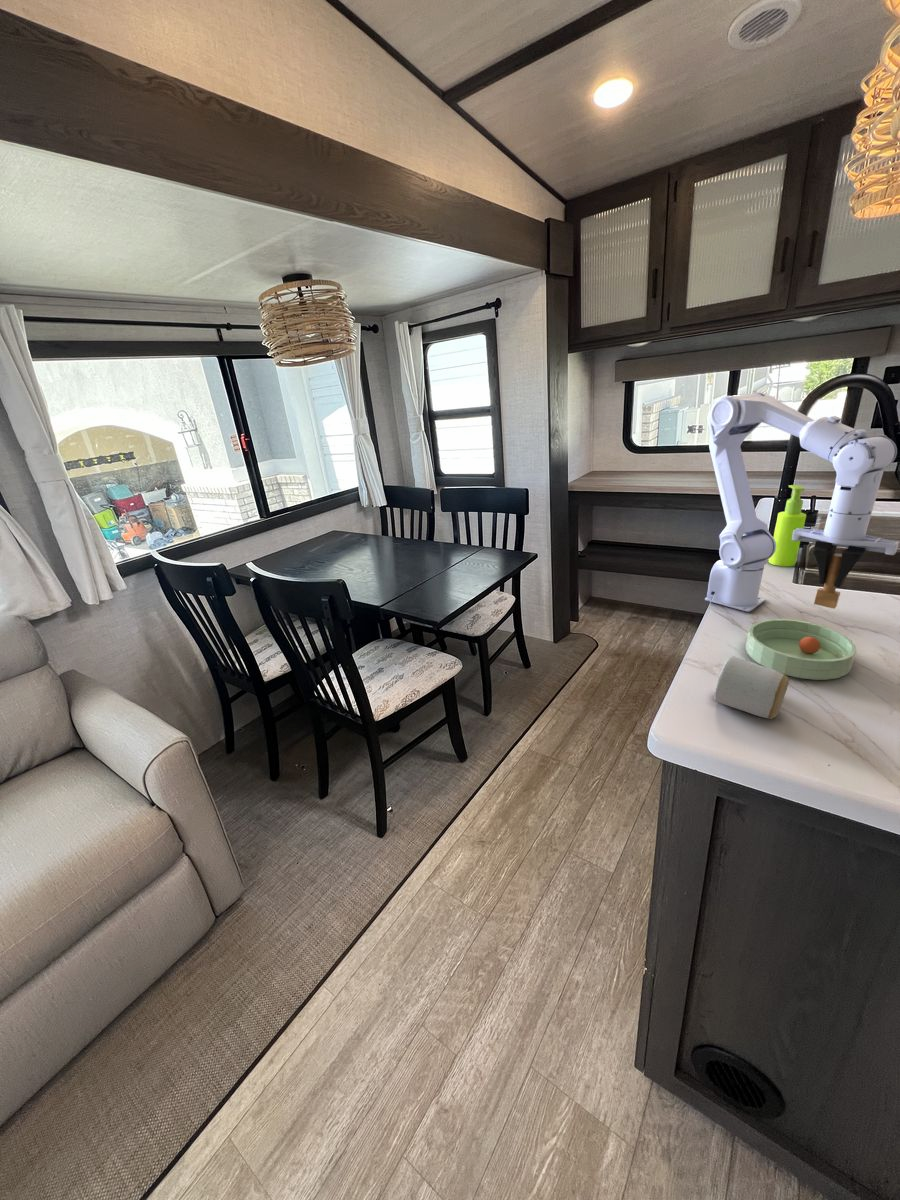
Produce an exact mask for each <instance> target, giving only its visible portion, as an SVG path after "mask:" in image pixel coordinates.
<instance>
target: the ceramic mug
mask: <svg viewBox="0 0 900 1200" xmlns="http://www.w3.org/2000/svg"><path fill="white" fill-rule="evenodd" d="M789 682H790V679H789V677H788V675H784V674H782V673H780V672H778V671H775V670H773V669H770V668H767V667H764V666H763V665H761V664H759V663H755V662H752V661H750V660H747V659H743V658H741V657H738V656H736V655H735V656H734V655H730V656H729V657H728V658H727V659H726V661H725V663H724V664H723V665H722V668H721V671H720V674H719V676H718V678H717V682H716V685H715V690H714V694H713V695H714V697H713V699H714V701H715V702H716V703H719V704H721V705H725V706H728V707H730V708H733V709H736V710H739V711H743V712H746V713H748V714H751V715H754V716H757V717H759V718H765V719H770V720H772V719H775V718H776V717H777V716H778V714H779V712H780V710H781V706H782V705H783V702H784V699H785V697H786V693H787V690H788V686H789V684H790V683H789Z"/></svg>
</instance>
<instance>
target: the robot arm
mask: <svg viewBox="0 0 900 1200" xmlns="http://www.w3.org/2000/svg"><path fill="white" fill-rule="evenodd" d="M706 419H707V423H708V428H709V441H708V448H709V452H710V457H711V461H712V466H713V470H714V474H715V475H714V476H715V478H716V484H717V487H718V492H719V496H720V501H721V504H722V508H723V514H724V517H725V521H726V526H725V527H724V528H723V529H722V531H721V532H720V534H719V535H718V537H719V542H720V543H719V551H718V553H719V557H720V559H719V560H717V561H716V562H715V563H714V564H713V566H712V568H711V571H710V574H709V580H708V585H707V593H706V597H705V598H704V601H706V602H710V603H713V604H717V605H720V606H723V607H728V608H731V609H736V610H739V611H743V612H746V613H750V612H752V611H753V610H754V609H756V608H758V606H760V605H761V604H763V603H764V602H765V598H762V597H759V593H760V589H761V584H762V579H763V574H764V569H765V565H767V561H768V560H769V558H770V557H772V556H773V555H774V553H775V551H776V542H775V539H774V538H773V537H774V535H772V534H771V533H770V531H769V527H768V524H767V523H766V522H764V521H762V520H761V519H759V518H758V516H757V513H756V509H755V504H754V500H753V495H752V492H751V487H750V483H749V478H748V474H747V470H746V465H745V460H744V456H743V453H742V448H741V445H742V444H743V442H744V441H745V439H746V438H747V437H748V436H749V435H750V434H751V433H752V432H754V431H755V430H756V428H758V426H760V425H761V424H762V423H763V424H765V425H767V426H771V427H773V428H775V429H778V430H780V431H782V432H785V433H787V434H790V435H792V436H794V437H796V438H799V445H800V447H801V448H802V449H803V450H806V451H808V452H810V453H811V454H813V455H815V456H817V457H819V458H821V459H823V460H826V461H828V462H830V463H831V464H832V467H833V469H834V470H835V473H836V476H835V485H834V489H833V492H832V497H831V501H830V505H829V509H828V513H827V517H826V520H825V525H824V528H823V529H813V528H803V529H801V528H797V529H795V530H794V532H793V536H792V540H794V541H799V540H801V541H803V542H809V543H814V545H813V547H812V549H811V550H812V554H813V556H814V559H815V562H816V564H817V569H818V584H821V585H824V583H825V580H826V575H827V572H828V568H829V564H830V560H831V556H832V554H835V553H836V550H837V548H838V547H843V548H846V549H844V550H843V551H842V552H841V554H842V558H841V564H840V570H839V573H838V576H837V579H836V581H835V587H836V588H841V587H842V586H843V585H844V582H845V581H846V578H847V576H848V575H849V573H850V572H851V570H852V569H853V568H854V566H855V565H857V563H858V561H859V560H860V559H861V558H862V557H863V556H864V555H865V554H866V553H867V552H868V551H869V552H875V553H883V554H885V555H888V556H894V555H896V553H897V551H898V548H899V545H900V541H899V540H892V539H887V538H882V537H877V536H872V535H868V534H867V531H868V528H869V523H870V520H871V518H872V514H873V511H874V507H875V503H876V500H877V496H878V493H879V489H880V485H881V483H882V482H881V481H882V479H883V475H884V470H885V469H886V468H889V466H891V465H892V463H893V462H894V461H895V460H896V458H897V455H898V448H897V445H896V443H895V442H894V441H893V439H891V438H889V437H888V436H887V435H885V434H875V435H871V436H869V435H868V434H867V433H868V430H866V429H863V428H861V429H860V428H859V429H855V428H854V427H851V426H849V425H846V424H844V423H842V422H841V421H842V418H841V417H838V416H836V415H834V416H823V417H820V418H817V419H813V418H811V417H809V416H807V415H805V414H803V413H801V412H800V411H798V410H796V409H795V408H792V407H791V406H789V405H787V404H785V403H782V402H781V401H779V400H778V399H776V397H775V396H773V395H767V394H765V393H763V392H761V391H760V392H759V391H757V392H753V393H747V394H738V395H724V396H721V397H719V398H718V399H716V401H714V403H713V404H712V406H711V408H710V410H709V411H708V414H707V416H706ZM801 541H800V542H801ZM714 595H715V597H714ZM713 597H714V599H713ZM712 599H713V601H712Z"/></svg>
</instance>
